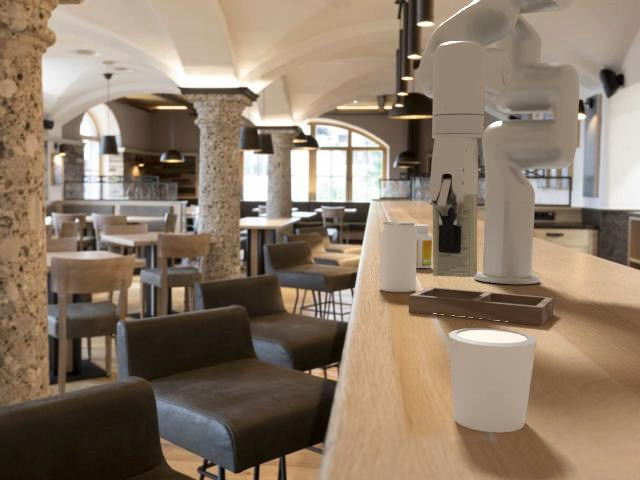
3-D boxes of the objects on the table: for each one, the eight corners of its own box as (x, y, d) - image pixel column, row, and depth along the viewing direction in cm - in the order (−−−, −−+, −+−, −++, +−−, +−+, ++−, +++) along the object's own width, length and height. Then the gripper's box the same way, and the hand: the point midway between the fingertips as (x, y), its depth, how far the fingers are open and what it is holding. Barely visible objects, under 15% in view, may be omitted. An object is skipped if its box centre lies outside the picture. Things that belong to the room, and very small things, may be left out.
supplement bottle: (430, 266, 163) (431, 224, 162) (431, 269, 157) (433, 225, 156) (406, 265, 163) (407, 223, 162) (407, 268, 158) (408, 225, 157)
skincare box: (477, 274, 108) (479, 194, 107) (474, 278, 104) (476, 195, 103) (435, 271, 110) (437, 193, 109) (430, 276, 106) (432, 194, 105)
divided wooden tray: (429, 302, 113) (430, 286, 113) (553, 314, 105) (553, 297, 105) (408, 312, 105) (409, 295, 104) (541, 325, 96) (542, 307, 96)
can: (414, 294, 122) (416, 224, 121) (376, 292, 123) (378, 223, 122) (416, 288, 128) (418, 222, 127) (381, 287, 129) (382, 221, 128)
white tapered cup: (436, 407, 60) (439, 326, 60) (514, 406, 61) (517, 326, 60) (458, 436, 54) (462, 345, 53) (546, 434, 54) (550, 344, 54)
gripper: (449, 131, 114) (447, 243, 116) (414, 126, 99) (412, 255, 101) (496, 130, 110) (493, 246, 113) (467, 125, 95) (463, 259, 97)
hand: (454, 249), depth 107 cm, fingers closed on skincare box, 4 cm apart
